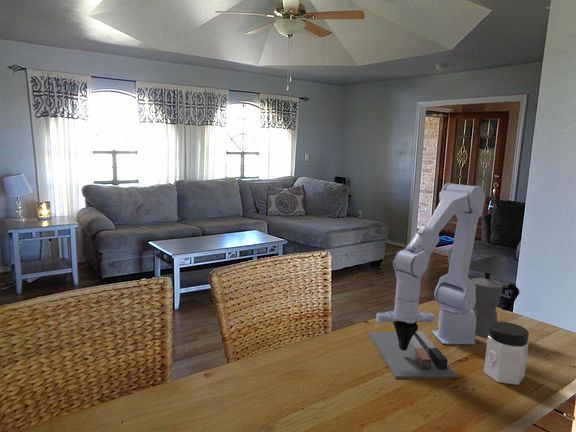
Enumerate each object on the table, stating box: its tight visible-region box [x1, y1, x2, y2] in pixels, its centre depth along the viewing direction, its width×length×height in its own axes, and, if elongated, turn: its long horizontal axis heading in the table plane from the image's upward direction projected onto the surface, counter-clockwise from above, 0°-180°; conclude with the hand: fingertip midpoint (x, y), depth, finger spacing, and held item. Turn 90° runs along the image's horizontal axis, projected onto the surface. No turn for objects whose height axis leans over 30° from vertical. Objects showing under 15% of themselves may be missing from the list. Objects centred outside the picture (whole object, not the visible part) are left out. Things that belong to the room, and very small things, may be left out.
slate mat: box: [368, 331, 458, 379], centre depth 113 cm, size 24×15×1 cm, turn 4°
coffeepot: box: [469, 272, 520, 338], centre depth 127 cm, size 15×9×18 cm, turn 70°
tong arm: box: [408, 333, 431, 369], centre depth 113 cm, size 20×4×3 cm, turn 0°
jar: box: [483, 321, 530, 386], centre depth 103 cm, size 9×8×12 cm
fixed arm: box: [415, 330, 448, 369], centre depth 111 cm, size 16×2×2 cm, turn 4°
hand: (402, 348), depth 110 cm, fingers closed
